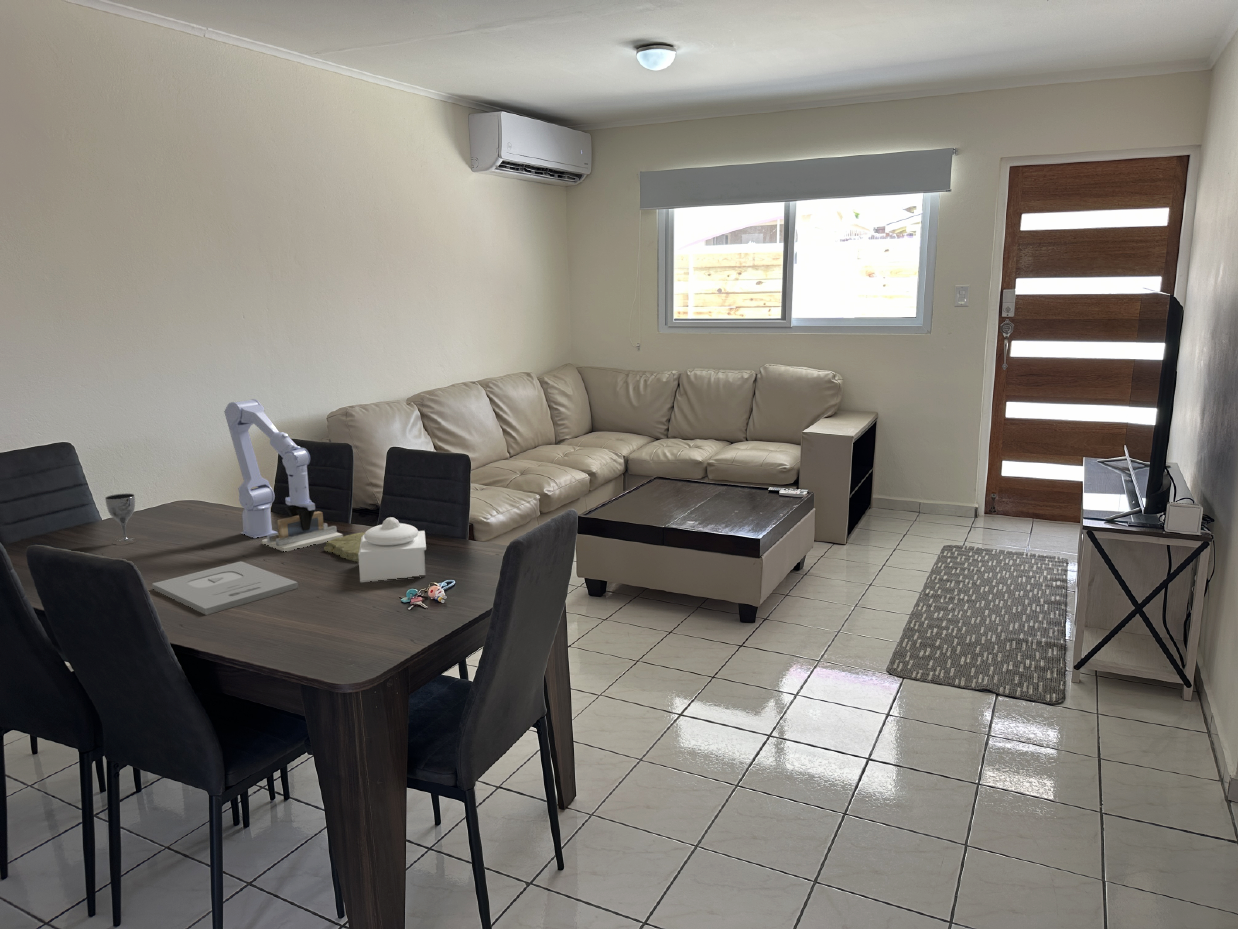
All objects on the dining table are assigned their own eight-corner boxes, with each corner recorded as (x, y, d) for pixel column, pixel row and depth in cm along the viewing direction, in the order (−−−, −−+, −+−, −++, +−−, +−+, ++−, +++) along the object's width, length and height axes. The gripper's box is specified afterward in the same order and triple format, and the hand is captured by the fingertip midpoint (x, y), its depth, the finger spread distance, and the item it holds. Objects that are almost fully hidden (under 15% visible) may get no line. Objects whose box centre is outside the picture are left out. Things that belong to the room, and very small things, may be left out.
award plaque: (206, 616, 207) (205, 608, 206) (152, 591, 225) (151, 583, 225) (298, 590, 226) (297, 582, 225) (241, 568, 244) (241, 561, 244)
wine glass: (141, 542, 268) (135, 497, 265) (112, 547, 264) (106, 500, 261) (138, 537, 275) (133, 492, 272) (110, 541, 270) (104, 495, 267)
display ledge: (262, 543, 267) (261, 534, 266) (319, 530, 281) (319, 521, 281) (284, 552, 258) (283, 542, 257) (343, 537, 273) (342, 528, 272)
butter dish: (362, 564, 246) (359, 511, 243) (425, 559, 251) (423, 507, 248) (360, 583, 230) (356, 526, 227) (427, 577, 234) (424, 522, 231)
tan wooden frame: (279, 541, 265) (277, 519, 263) (319, 532, 275) (318, 511, 274) (283, 542, 263) (281, 521, 262) (324, 533, 274) (322, 512, 272)
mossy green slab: (370, 539, 273) (369, 528, 272) (410, 550, 261) (409, 539, 260) (319, 553, 258) (318, 541, 258) (358, 565, 246) (358, 553, 246)
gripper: (275, 486, 268) (278, 527, 270) (298, 492, 258) (302, 535, 261) (295, 482, 273) (299, 522, 276) (319, 488, 264) (323, 530, 266)
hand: (302, 528), depth 269 cm, fingers open, 4 cm apart
